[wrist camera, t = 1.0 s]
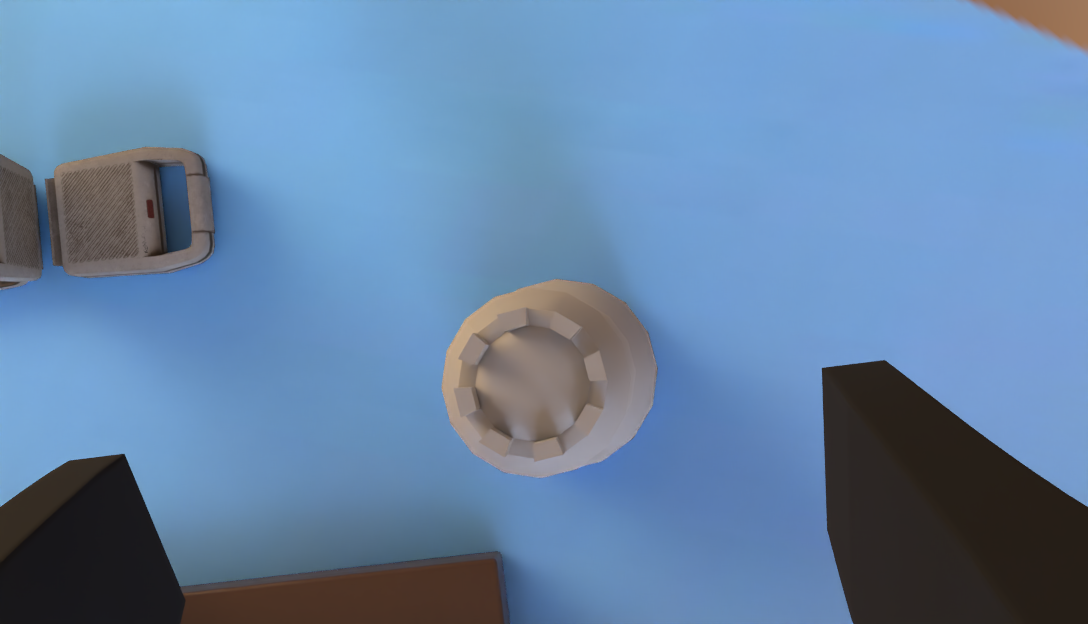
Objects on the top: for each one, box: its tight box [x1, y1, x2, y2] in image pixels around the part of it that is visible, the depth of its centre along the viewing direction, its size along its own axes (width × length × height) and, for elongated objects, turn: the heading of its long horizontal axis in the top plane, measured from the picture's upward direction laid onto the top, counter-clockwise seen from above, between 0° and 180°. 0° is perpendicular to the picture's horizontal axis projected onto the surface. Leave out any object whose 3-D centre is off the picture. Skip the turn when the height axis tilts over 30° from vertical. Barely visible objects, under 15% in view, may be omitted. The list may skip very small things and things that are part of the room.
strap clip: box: [0, 147, 215, 290], centre depth 24 cm, size 8×3×4 cm, turn 96°
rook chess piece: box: [442, 279, 658, 478], centre depth 21 cm, size 4×4×8 cm
